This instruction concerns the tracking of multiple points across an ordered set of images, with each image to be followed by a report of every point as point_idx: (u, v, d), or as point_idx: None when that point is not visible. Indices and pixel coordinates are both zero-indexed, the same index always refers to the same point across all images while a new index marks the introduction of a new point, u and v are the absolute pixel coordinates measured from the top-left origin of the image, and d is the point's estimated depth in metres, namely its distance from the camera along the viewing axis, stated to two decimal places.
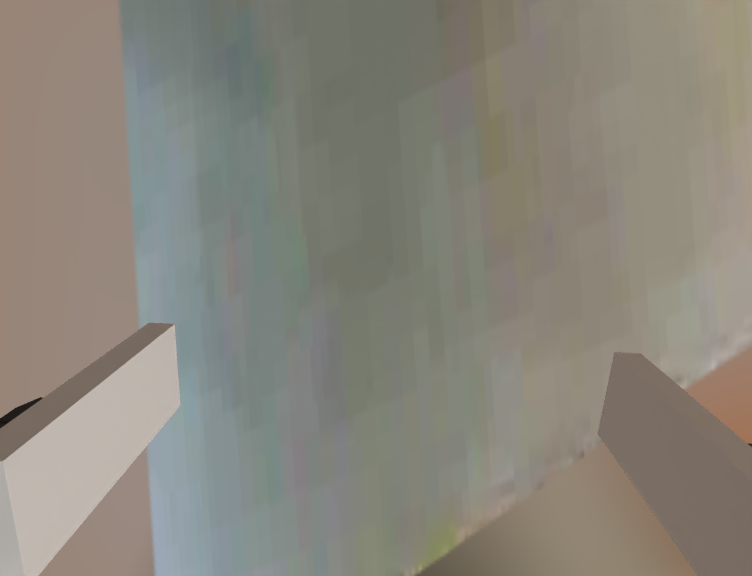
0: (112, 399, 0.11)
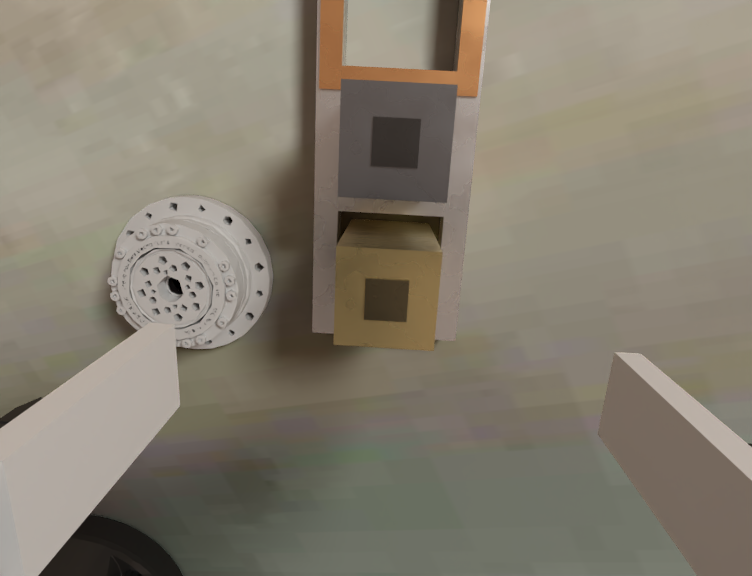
0: (112, 399, 0.11)
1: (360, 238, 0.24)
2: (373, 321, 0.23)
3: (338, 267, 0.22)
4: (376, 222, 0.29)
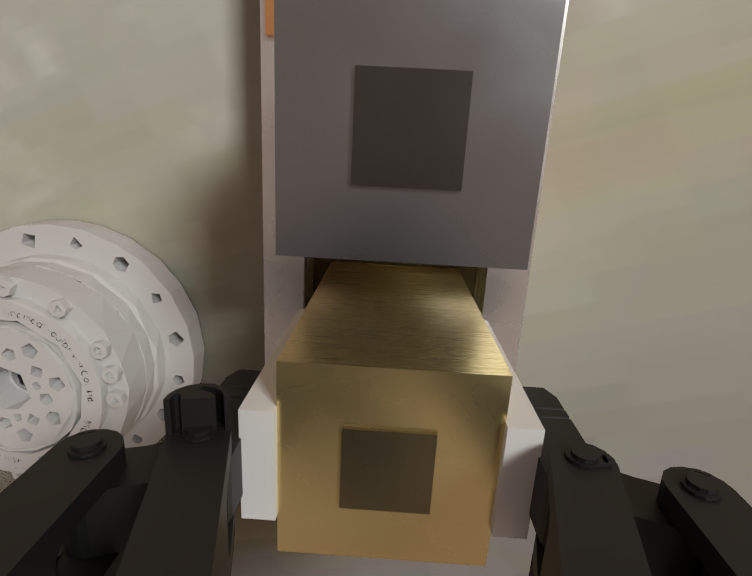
0: None
1: (335, 325, 0.12)
2: (358, 510, 0.11)
3: (282, 404, 0.10)
4: (371, 270, 0.17)
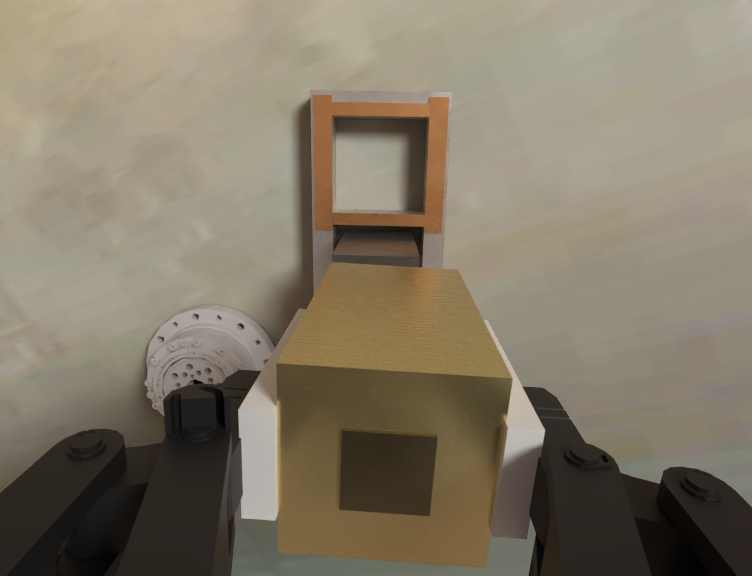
0: None
1: (336, 326, 0.12)
2: (358, 512, 0.11)
3: (282, 406, 0.10)
4: (371, 271, 0.17)
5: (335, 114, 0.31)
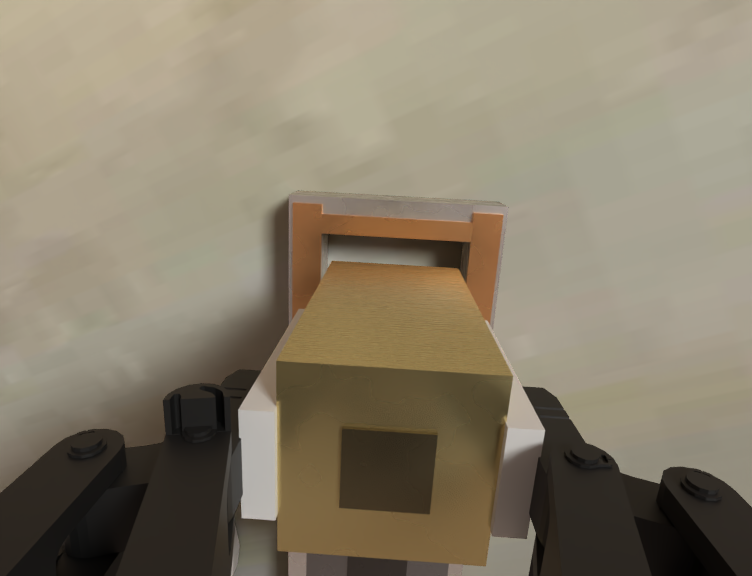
0: None
1: (335, 324, 0.12)
2: (358, 510, 0.11)
3: (282, 404, 0.10)
4: (371, 269, 0.17)
5: (326, 232, 0.20)
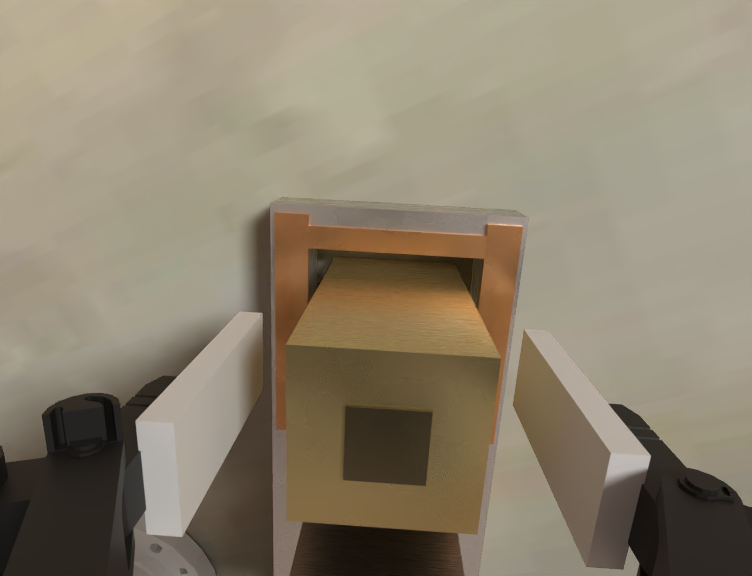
0: (228, 377, 0.13)
1: (339, 313, 0.13)
2: (360, 482, 0.12)
3: (291, 384, 0.11)
4: (372, 265, 0.18)
5: (314, 247, 0.17)
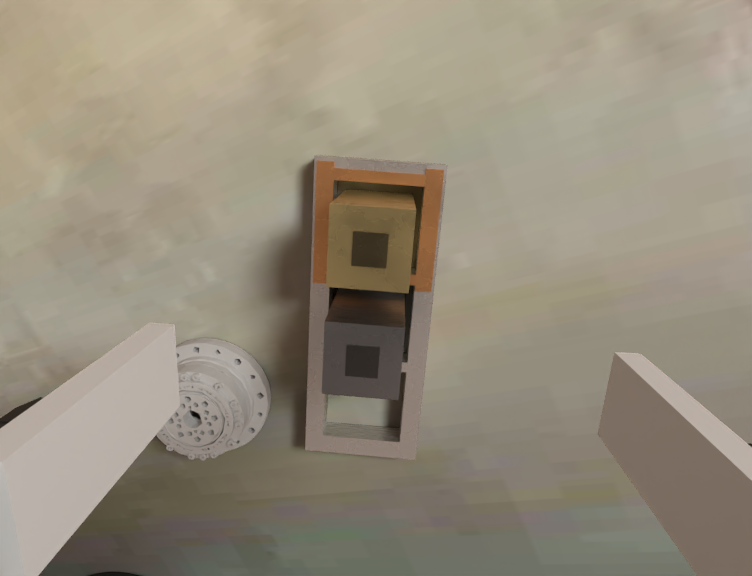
0: (112, 399, 0.11)
1: (350, 200, 0.29)
2: (358, 267, 0.28)
3: (331, 221, 0.27)
4: (367, 191, 0.34)
5: (336, 179, 0.33)
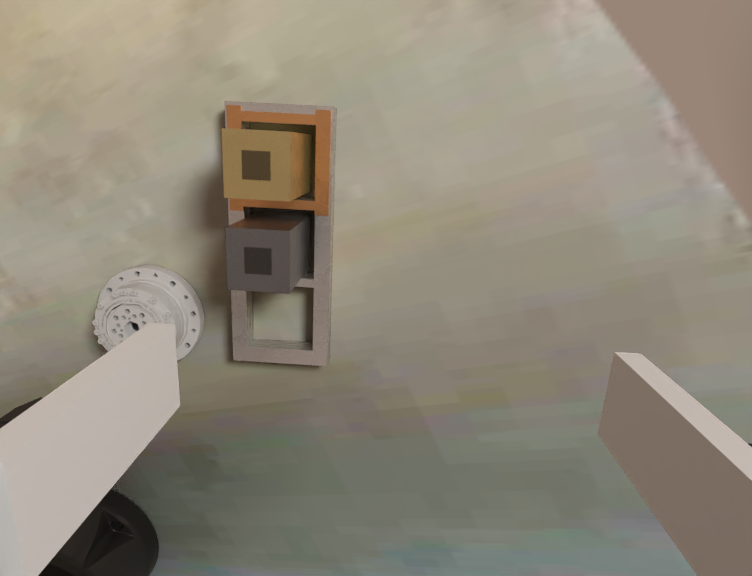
0: (112, 399, 0.11)
1: None
2: (248, 181, 0.35)
3: (223, 142, 0.34)
4: None
5: (243, 120, 0.40)
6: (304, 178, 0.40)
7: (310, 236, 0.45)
